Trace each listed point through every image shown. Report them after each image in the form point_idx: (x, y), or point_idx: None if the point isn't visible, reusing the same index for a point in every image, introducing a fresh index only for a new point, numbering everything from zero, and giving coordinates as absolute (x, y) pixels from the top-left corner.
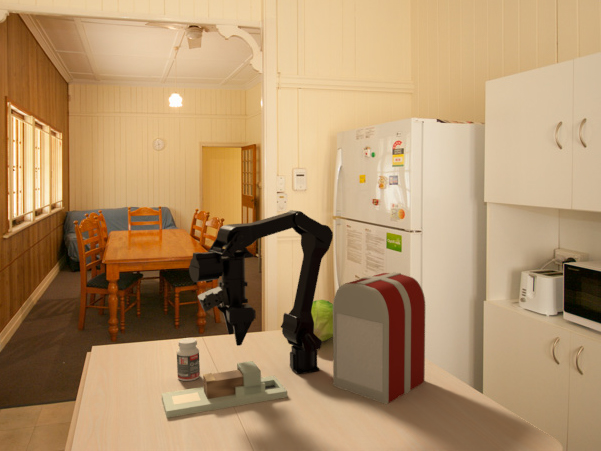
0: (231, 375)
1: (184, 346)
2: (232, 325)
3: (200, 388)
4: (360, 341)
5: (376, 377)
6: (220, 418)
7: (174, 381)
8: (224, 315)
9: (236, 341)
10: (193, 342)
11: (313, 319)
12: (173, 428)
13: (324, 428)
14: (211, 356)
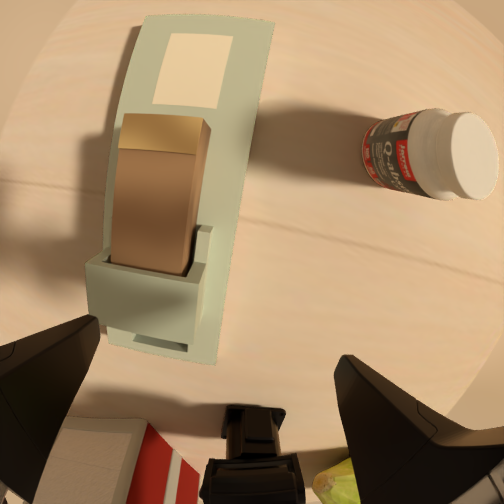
0: (138, 225)
1: (445, 121)
2: (353, 414)
3: (243, 127)
4: (63, 490)
5: (62, 443)
6: (74, 143)
7: (383, 107)
8: (426, 437)
9: (66, 323)
10: (451, 164)
11: (345, 500)
12: (95, 37)
13: (5, 311)
14: (462, 272)
